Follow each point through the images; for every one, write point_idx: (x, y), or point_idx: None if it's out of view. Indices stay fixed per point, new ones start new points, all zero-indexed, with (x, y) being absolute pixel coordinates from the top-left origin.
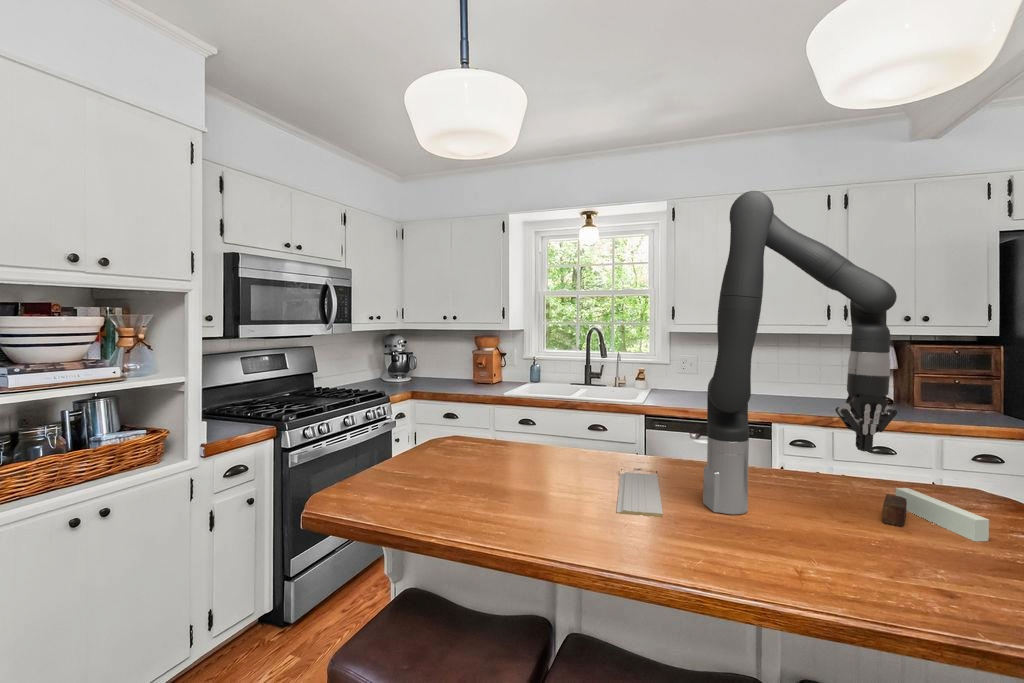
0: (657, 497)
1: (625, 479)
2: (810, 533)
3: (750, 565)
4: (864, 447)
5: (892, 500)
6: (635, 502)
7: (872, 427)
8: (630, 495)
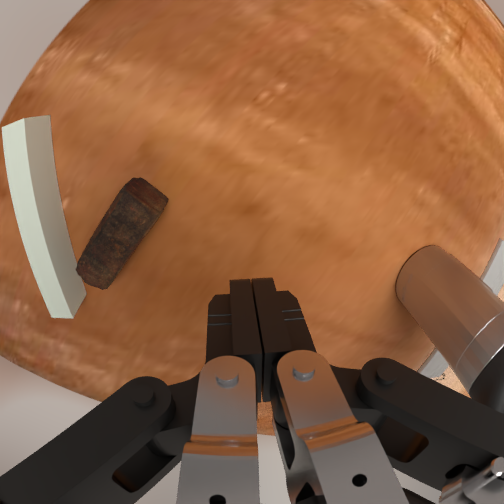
0: None
1: None
2: (373, 152)
3: (493, 81)
4: (274, 289)
5: (118, 242)
6: (499, 278)
7: (236, 414)
8: None
